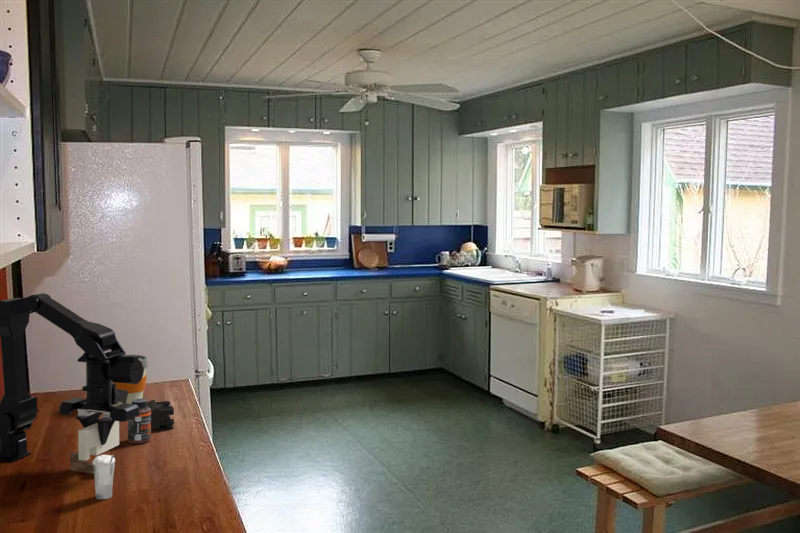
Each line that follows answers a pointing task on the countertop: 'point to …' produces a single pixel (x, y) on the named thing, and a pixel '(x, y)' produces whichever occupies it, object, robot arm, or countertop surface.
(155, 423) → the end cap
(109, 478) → the milkshake
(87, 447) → the cream plate
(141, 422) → the supplement bottle
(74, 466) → the brown wooden flat piece
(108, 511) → the countertop surface
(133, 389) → the reusable coffee cup
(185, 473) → the countertop surface
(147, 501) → the countertop surface
